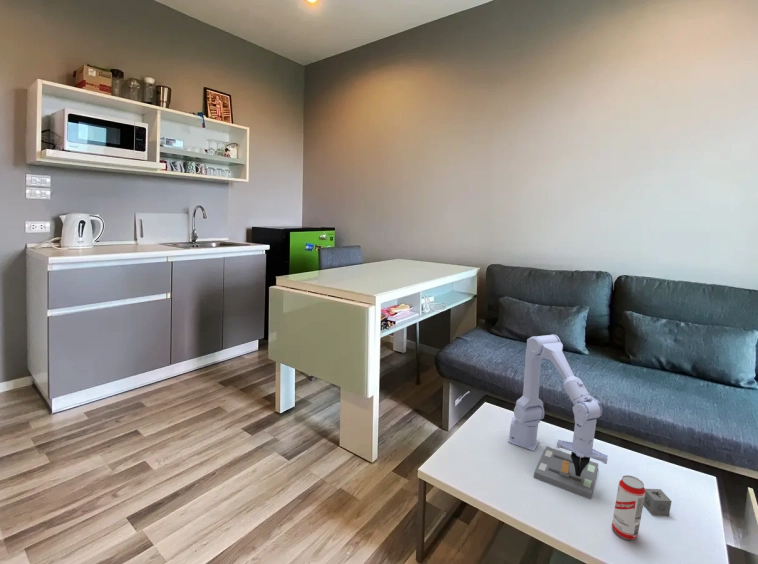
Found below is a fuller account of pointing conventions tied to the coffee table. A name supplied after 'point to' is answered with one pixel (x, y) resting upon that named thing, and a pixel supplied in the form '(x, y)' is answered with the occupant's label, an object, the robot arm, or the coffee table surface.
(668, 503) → the dice cube
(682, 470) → the coffee table surface
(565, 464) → the orange lever
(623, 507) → the beer can
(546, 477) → the slider lever panel
